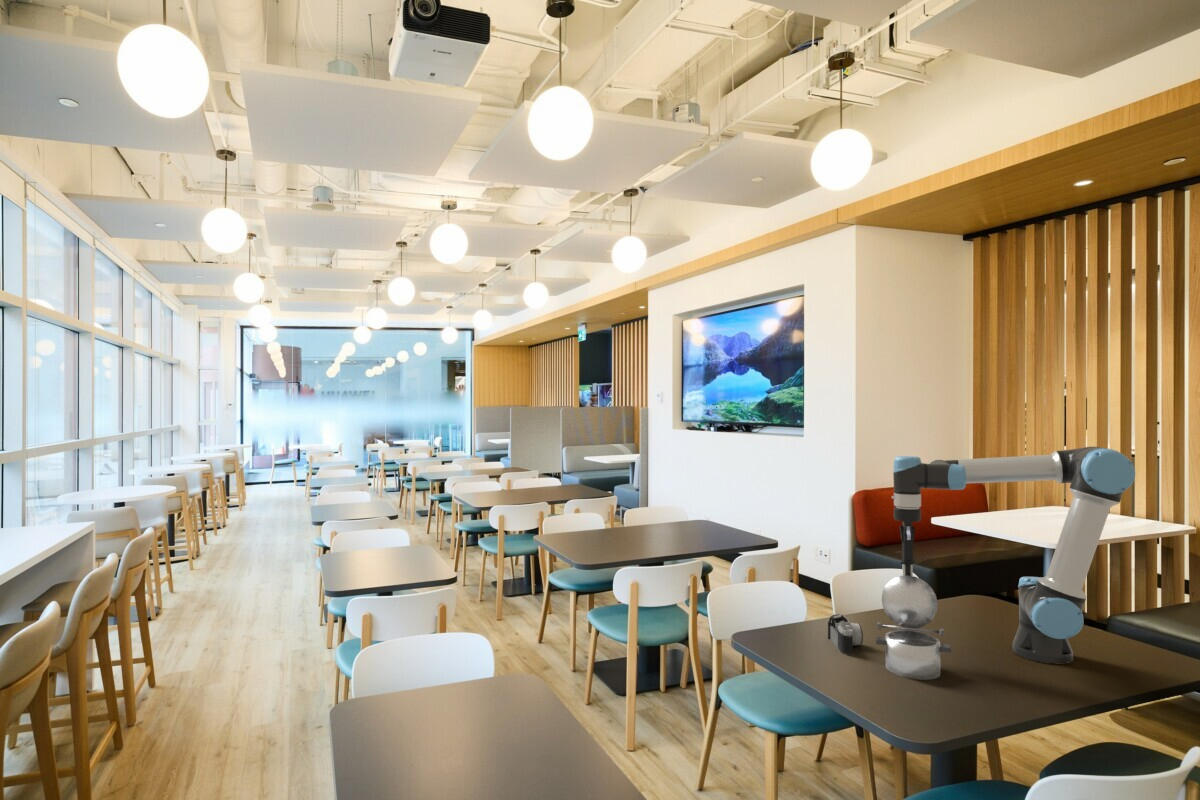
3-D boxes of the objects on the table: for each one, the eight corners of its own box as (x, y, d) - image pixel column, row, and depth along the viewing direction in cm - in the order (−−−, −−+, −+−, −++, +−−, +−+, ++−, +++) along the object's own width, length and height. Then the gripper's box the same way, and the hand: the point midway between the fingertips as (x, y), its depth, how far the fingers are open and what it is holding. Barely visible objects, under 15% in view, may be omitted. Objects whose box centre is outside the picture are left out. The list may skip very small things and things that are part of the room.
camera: (869, 657, 200) (869, 623, 200) (838, 656, 200) (838, 623, 200) (852, 639, 215) (852, 608, 215) (824, 638, 216) (824, 607, 216)
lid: (937, 577, 197) (936, 577, 199) (881, 573, 202) (880, 573, 204) (939, 633, 193) (938, 633, 195) (881, 627, 198) (881, 627, 201)
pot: (954, 685, 179) (953, 647, 179) (877, 676, 185) (876, 638, 185) (946, 664, 193) (945, 629, 193) (875, 656, 200) (874, 621, 200)
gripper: (892, 503, 210) (892, 579, 210) (894, 509, 198) (895, 589, 198) (919, 505, 208) (919, 581, 207) (922, 511, 195) (923, 592, 195)
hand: (907, 585), depth 203 cm, fingers closed
